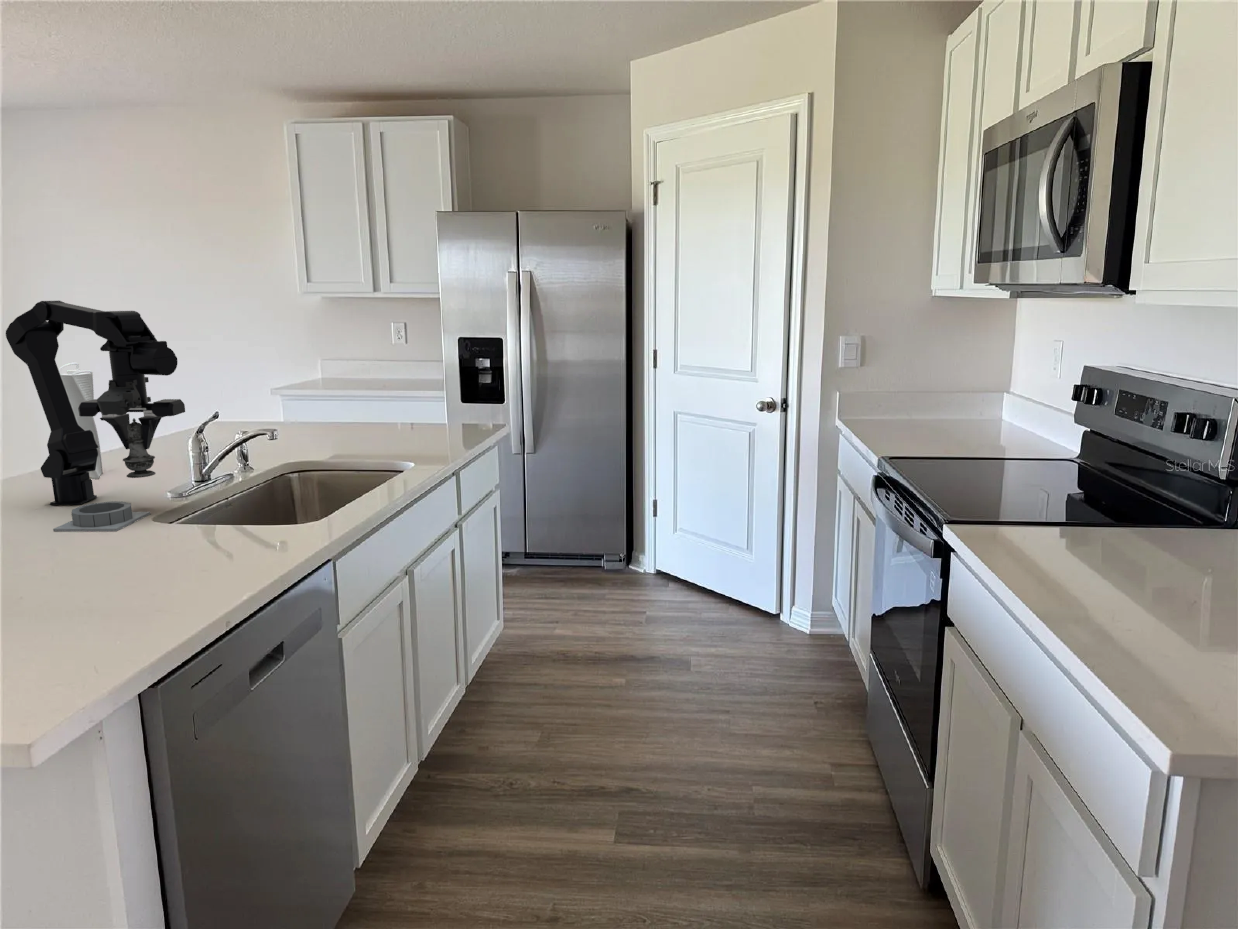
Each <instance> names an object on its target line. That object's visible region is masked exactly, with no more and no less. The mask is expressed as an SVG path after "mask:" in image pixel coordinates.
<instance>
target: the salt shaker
mask: <svg viewBox="0 0 1238 929" xmlns="http://www.w3.org/2000/svg"><path fill="white" fill-rule="evenodd" d="M127 430H128V438H129V440H127V442H128V443H129V449H128V450H129V452H128V456H127V457H125V458H124V457H123V458H122V462H124V465H125V467H126V468H127V469H129V471H131V472H129V473H128V474H126V478H129V479H130V478H132V479H137V478H138V479H139V478H140V479H141V478H146V477H147V478H149V477H153V476H155V475H156V472H155V471H153V470H151V468H152V467H153V465H154V463H155V461H154V460H155V458H156V456H155V455H152V454H149V452H148V451H147V450H148V449H145V448H144V443H143V432H142V424H141V423H140V422H137V420H136V418H133V419H132V422H131V423H130V424H129V425H128V426H127ZM149 469H150V470H149Z"/></svg>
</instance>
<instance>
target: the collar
mask: <svg viewBox="0 0 1238 929" xmlns="http://www.w3.org/2000/svg"><path fill="white" fill-rule="evenodd" d="M150 515H151V511H133V509H132V502H127V501H120V500H119V501H118V500H117V501H116V500H115V501H113V500H112V501H111V500H110V501H101V502H92V503H89V504H83V505H81V506H78V507H75V508H73V509H71V520H70V521H68V522H65V523H63V524H61V525H59V526H56V527H54V528H53V529H52V530H53V532H118V531H120V530H122V529H123V527H124V528H126V527H128V526H130V525H131V524H134V523H136V522H137V520H138V521H139V520H141V519H144V518H145V517H148V516H150ZM143 517H144V518H143ZM135 521H136V522H135ZM129 524H130V525H129Z"/></svg>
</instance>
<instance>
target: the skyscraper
mask: <svg viewBox="0 0 1238 929" xmlns="http://www.w3.org/2000/svg"><path fill="white" fill-rule="evenodd" d="M71 365H72V366H73V365H74V366H76V368H75V369H69V370H68V369H67V370H66V373H60V372H61V371H62V370H63V369H64V368H65V367H67V366H71ZM79 365H80V364H79V363H78V362H69V363H65V364H63V365H61V366H60V367H59V368H58V370H59V373H60V376H61V378H62V381H63V384H64V387H65V390H66V393H67V395H68V398H69V401H70V404H71V407H72V409H73V412H74V415H75V418H76V421H77V423H78V425H79V426H80V427H81V428H82V429H84V430H85V431H86V430H91V431H92V433H93V435H94V439H95V442H96V444H97V445H98V448H97V450H98V457H97V462H96V469H95V471H89V477H90V479H95V480H99V479H100V478H101V477H100V476H102V475H103V462H102V461H103V460H102V454H101V446H100V439H99V434H98V430H97V425H96V423H95V417H94V416H79V410H78V408H79V405H80V404H81V402H85V401H89V400H93V399H94V395H95V394H94V393H95V392H94V379H93V378H94V377H93V376H94V374H93V373H94V372H93V371H92V370H89V369H86V370H85V369H83V370H81V369H79V367H80V366H79Z"/></svg>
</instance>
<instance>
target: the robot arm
mask: <svg viewBox="0 0 1238 929" xmlns="http://www.w3.org/2000/svg"><path fill="white" fill-rule="evenodd" d="M64 325H69V326H73V327H78V328H83V329H87V330H90V331H92V332H94V333H95V335H97V336H98V337H100V338H102V339H104V340H106V342H105V343H104V344H102V345H101V346H100V349H99V350H100V351H101V352H108V354H109V363H110V371H111V379H109V380H108V390H106V391H104V392H103V393H102V394H101V395H100V396H99V397H98V398H96V399H93V400H89V401H85V402H81V404H80V405H79V408H78V410H79V416H93V417H96V416H97V414H98V413H101V417H100V418H99V419H100V421H105V422H107V423H108V424H109V425H110V426H111V427H112V428H113V430H114V431H115V433H116V434H117V436H118V438H119V440H120V442H121V443H122V445H123V447H124V449H125V450H130V449H129V443H128V442H127V440H129V438H128V430H127V426H128V425H129V424H130V422H131V421H130V413H142V414H143V416H141V417H138V421H139V423H140V424H142V432H143V443H144V448H145V449H146V450H149V449H150V448H151V444H152V442H153V439H154V436H155V433H156V431H157V428H158V426H159V423H160V422H161V421H162V420H161V419H162V418H166V417H174V416H177V415H180V414H183V413H186V407H185V406H186V405H185V403H184V402H183V400H181V398H176V399H175V398H173V399H171V398H167V399H166V398H163V399H160V400H158V401H154V402H152V399H151V396H148V393H147V385H146V384H147V383H149V377H148V376H150V375H151V376H171V375H172V374H173V373H174V372H175V371H176V369H177V368H178V357H177V356H176V353H175V352H174V350H172V349H171V348H170V347H169V346H168V341H166V340H157V338H156V336H155V335H154V333H152V331H151V329H150V328H149V327H148V325H147V324H146V322H145V320H144V319H143V318H142V316H141V313H139V312H138V311H135V310H109V311H108V310H107V311H105V310H100V309H95V308H90V307H87V306H81V305H77V304H71V303H67V302H65V301H64V302H63V301H62V300H41V301H38V302H37V303H35V304H34V306H33V307H32V308H30V309H29V310H27V311H25V312H24V313H22V314H21V315H18V316H17V317H16V318H14V320H12V322H10V323H9V325H8V327H7V328H6V330H5V338H6V341H7V342H8V344H9V346H10V349H11V351H12V352H13V354H14V355H15V356H16V357H17V358H18V359H20V360H21V361H22V362H23V363H24V364H25V365H26V366H27V368H28V370H29V373H30V376H31V379H32V382H33V385H34V387H35V390H36V393H37V395H38V398H39V402H40V404H41V406H42V409H43V411H44V415H45V417H46V420H47V424H48V426H49V429H50V434H49V436H48V437H49V438H48V440H47V444H46V446H47V451H48V455H47V457H46V459H45V461H44V462H43V464H42V465H41V467H40V471H41V473H42V475H43V478H45V479H46V478H47V479H51V484H52V490H53V496H54V500H52V501H51V502H49V505H52V506H54V505H55V506H59V505H60V506H65V505H66V506H70V505H71V506H72V505H73V506H75V505H76V506H79V505H82V504H83V505H84V504H86V503H88V502H90V501H92V500H94V499H95V500H96V498H98V496H97V494H94V493H95V492H94V487H93V480H91V479H90V477H89V471H95V469H96V462H97V457H98V450H97V448H98V445H97V444H96V442H95V439H94V435H93V433H92V431H91V430H86V431H85V430H84V429H82V428H81V427H80V426H79V425H78V423H77V421H76V418H75V415H74V412H73V409H72V407H71V404H70V401H69V398H68V395H67V393H66V390H65V387H64V384H63V381H62V378H61V376H60V374H61V373H60V372H59V368H58V365H57V362H56V357H57V353H58V351H59V346H60V345H59V340H58V337H59V336H60V335H61V333H63V331H64V329H65V328H64V327H65V326H64ZM146 375H148V376H146Z"/></svg>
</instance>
